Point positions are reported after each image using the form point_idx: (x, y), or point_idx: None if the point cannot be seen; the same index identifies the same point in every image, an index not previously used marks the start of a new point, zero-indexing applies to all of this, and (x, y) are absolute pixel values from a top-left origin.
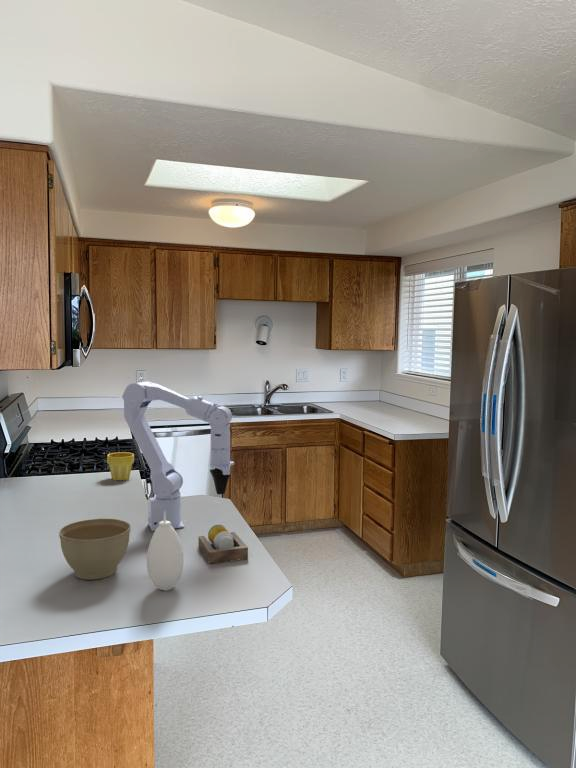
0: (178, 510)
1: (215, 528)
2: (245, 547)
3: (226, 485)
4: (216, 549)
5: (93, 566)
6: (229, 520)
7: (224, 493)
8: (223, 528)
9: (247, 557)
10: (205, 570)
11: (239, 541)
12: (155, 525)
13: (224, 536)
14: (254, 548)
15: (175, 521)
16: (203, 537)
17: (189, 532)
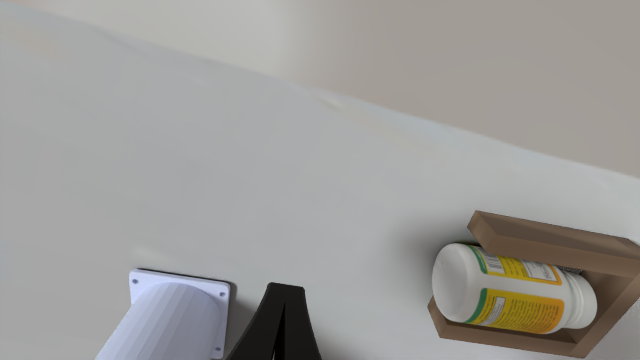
0: (189, 345)
1: (492, 324)
2: None
3: (312, 341)
4: (583, 338)
5: None
6: (211, 104)
7: (303, 289)
8: (524, 308)
9: (630, 242)
10: None
11: (596, 262)
12: (209, 358)
13: (577, 323)
14: (578, 178)
15: (212, 320)
16: (461, 330)
17: (284, 283)
